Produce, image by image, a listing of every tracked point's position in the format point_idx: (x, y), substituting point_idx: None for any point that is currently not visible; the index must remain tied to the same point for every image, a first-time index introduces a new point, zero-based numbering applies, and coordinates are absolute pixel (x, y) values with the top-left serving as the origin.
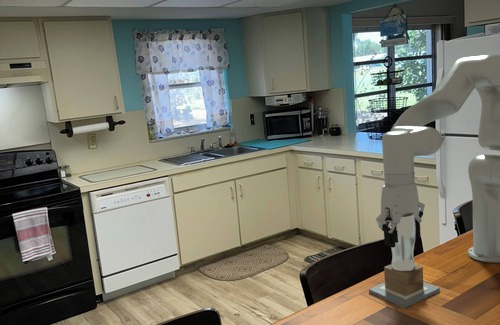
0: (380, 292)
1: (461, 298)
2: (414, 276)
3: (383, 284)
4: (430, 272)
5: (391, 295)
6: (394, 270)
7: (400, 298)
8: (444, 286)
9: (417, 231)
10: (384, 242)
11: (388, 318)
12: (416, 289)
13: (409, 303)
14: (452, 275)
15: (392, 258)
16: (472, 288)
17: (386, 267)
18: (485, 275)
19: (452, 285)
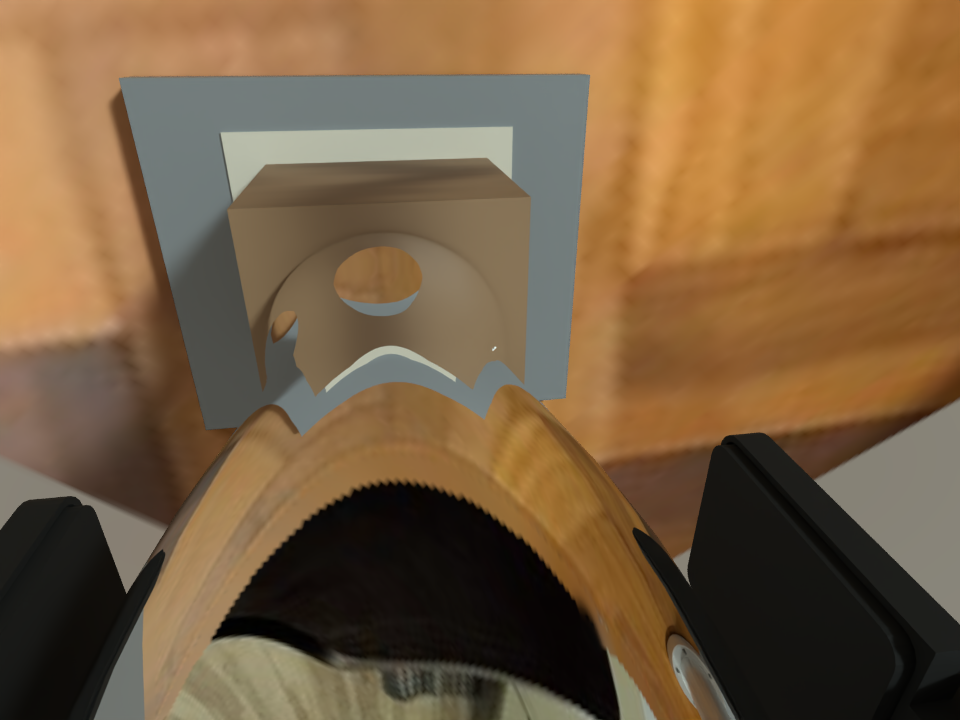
0: (175, 200)
1: None
2: None
3: (301, 100)
4: (785, 150)
5: (219, 293)
6: (258, 349)
7: (245, 362)
8: (635, 357)
9: (738, 654)
10: (3, 527)
11: (35, 450)
12: None
13: None
14: (811, 284)
15: (285, 330)
16: (703, 454)
17: (240, 239)
18: (897, 394)
19: (676, 375)
